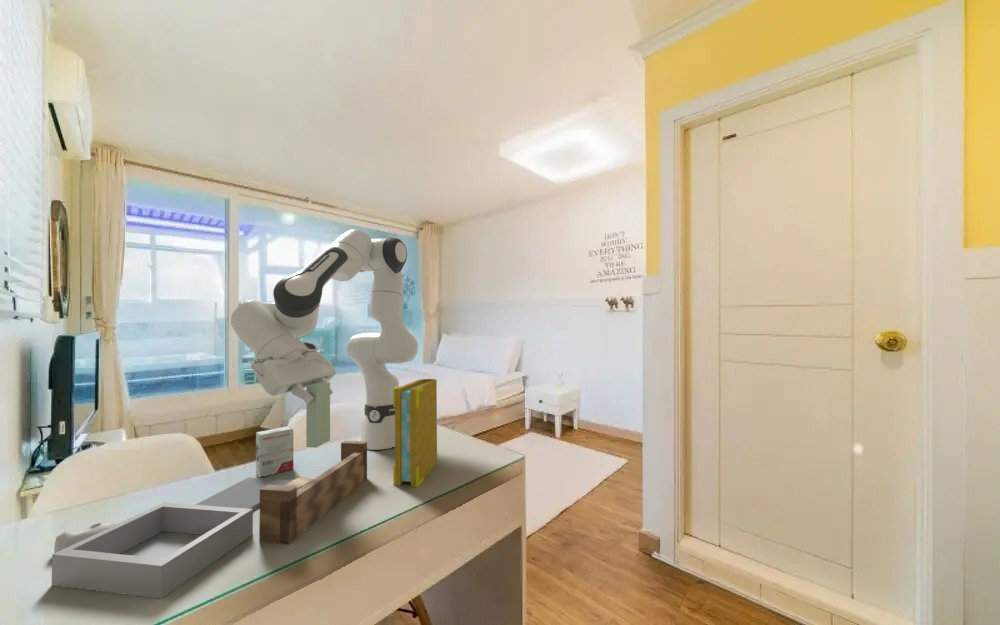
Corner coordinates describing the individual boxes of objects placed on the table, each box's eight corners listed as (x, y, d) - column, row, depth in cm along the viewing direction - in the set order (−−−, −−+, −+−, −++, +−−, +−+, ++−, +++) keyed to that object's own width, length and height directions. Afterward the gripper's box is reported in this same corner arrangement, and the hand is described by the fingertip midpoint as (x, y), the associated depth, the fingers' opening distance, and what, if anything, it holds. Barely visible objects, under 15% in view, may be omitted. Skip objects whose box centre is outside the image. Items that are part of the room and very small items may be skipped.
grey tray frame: (163, 526, 75) (164, 502, 75) (252, 534, 72) (252, 509, 72) (51, 585, 58) (52, 554, 58) (160, 598, 55) (161, 565, 55)
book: (417, 487, 92) (417, 389, 93) (393, 485, 93) (393, 388, 94) (441, 461, 108) (440, 379, 109) (420, 460, 110) (420, 378, 110)
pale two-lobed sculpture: (117, 540, 73) (115, 542, 69) (55, 557, 67) (49, 561, 64) (119, 516, 74) (117, 518, 70) (58, 531, 68) (52, 534, 65)
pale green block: (320, 439, 87) (320, 381, 87) (330, 440, 86) (329, 382, 87) (306, 447, 82) (306, 385, 82) (316, 447, 81) (316, 385, 82)
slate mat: (248, 481, 96) (248, 477, 96) (295, 484, 94) (295, 480, 94) (179, 517, 79) (179, 512, 79) (235, 521, 77) (235, 517, 77)
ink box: (289, 464, 108) (289, 425, 108) (293, 469, 104) (294, 428, 105) (255, 473, 102) (255, 431, 102) (259, 478, 98) (259, 435, 99)
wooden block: (302, 490, 92) (302, 474, 92) (318, 492, 91) (319, 476, 91) (261, 514, 80) (261, 496, 80) (279, 517, 79) (279, 499, 79)
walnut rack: (345, 477, 98) (345, 440, 98) (367, 478, 97) (367, 441, 98) (259, 541, 69) (259, 489, 70) (289, 544, 69) (289, 491, 69)
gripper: (256, 350, 75) (298, 398, 74) (319, 343, 95) (353, 381, 94) (237, 371, 76) (279, 419, 74) (304, 360, 96) (337, 397, 94)
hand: (321, 397), depth 84 cm, fingers closed on pale green block, 5 cm apart
